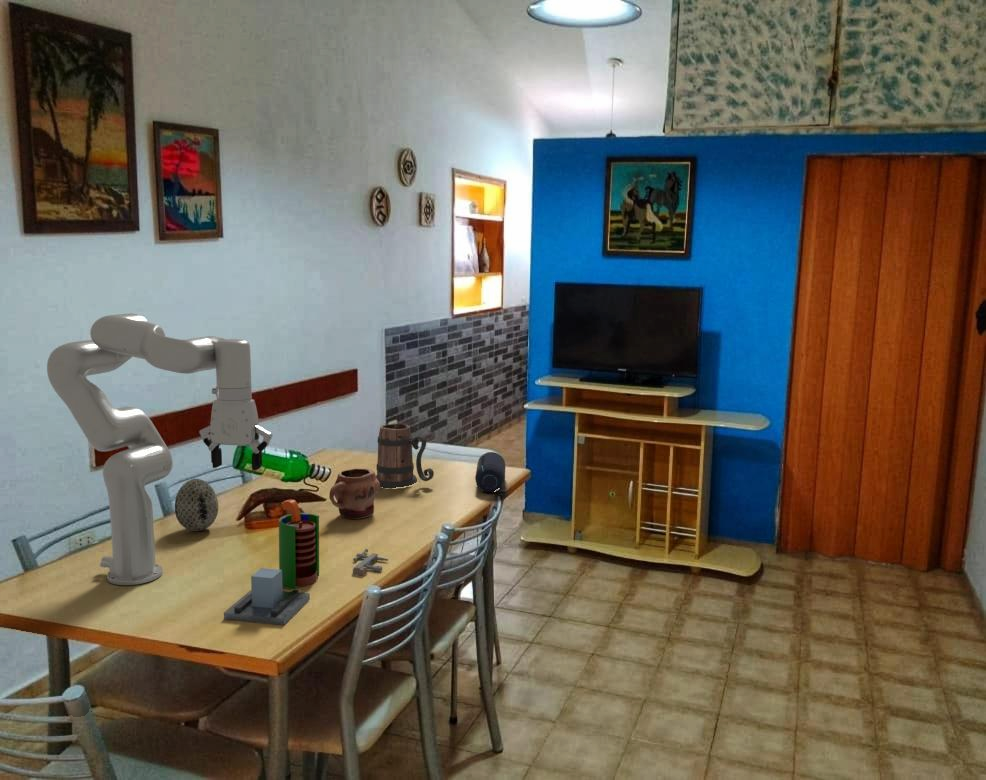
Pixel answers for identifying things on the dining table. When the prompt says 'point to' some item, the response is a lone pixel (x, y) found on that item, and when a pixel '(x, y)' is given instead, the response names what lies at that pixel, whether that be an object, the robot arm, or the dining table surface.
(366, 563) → the clamp
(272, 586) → the slate grey block
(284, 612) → the mounting bracket
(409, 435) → the tankard
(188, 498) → the decorative egg
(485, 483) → the portable speaker
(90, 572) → the dining table surface
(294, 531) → the motor
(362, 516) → the clay mug
